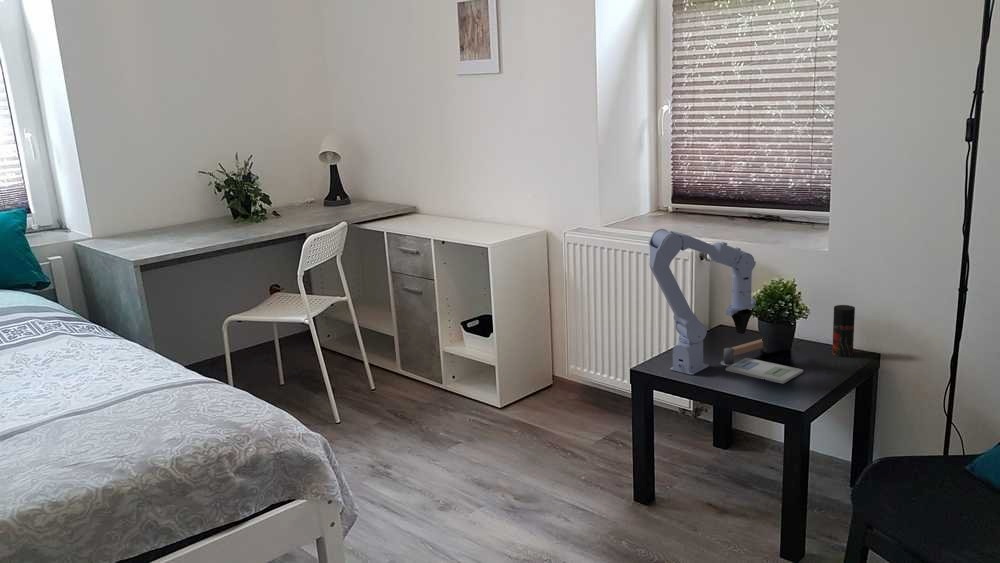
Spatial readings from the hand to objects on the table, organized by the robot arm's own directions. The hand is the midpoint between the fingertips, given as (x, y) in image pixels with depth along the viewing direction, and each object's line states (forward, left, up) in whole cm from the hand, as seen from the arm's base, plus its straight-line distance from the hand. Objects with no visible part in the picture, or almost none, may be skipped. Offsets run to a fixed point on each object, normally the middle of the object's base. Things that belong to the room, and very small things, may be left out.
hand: (741, 333), depth 251 cm
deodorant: (+24, -21, -10) cm, 33 cm away
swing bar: (+6, 0, -9) cm, 10 cm away
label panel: (-4, -7, -9) cm, 12 cm away
